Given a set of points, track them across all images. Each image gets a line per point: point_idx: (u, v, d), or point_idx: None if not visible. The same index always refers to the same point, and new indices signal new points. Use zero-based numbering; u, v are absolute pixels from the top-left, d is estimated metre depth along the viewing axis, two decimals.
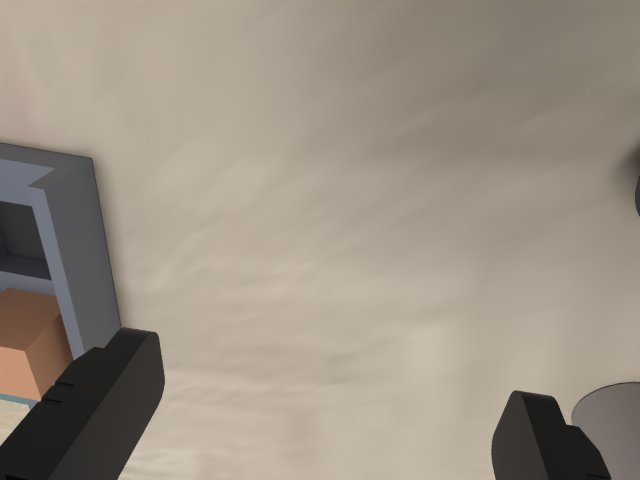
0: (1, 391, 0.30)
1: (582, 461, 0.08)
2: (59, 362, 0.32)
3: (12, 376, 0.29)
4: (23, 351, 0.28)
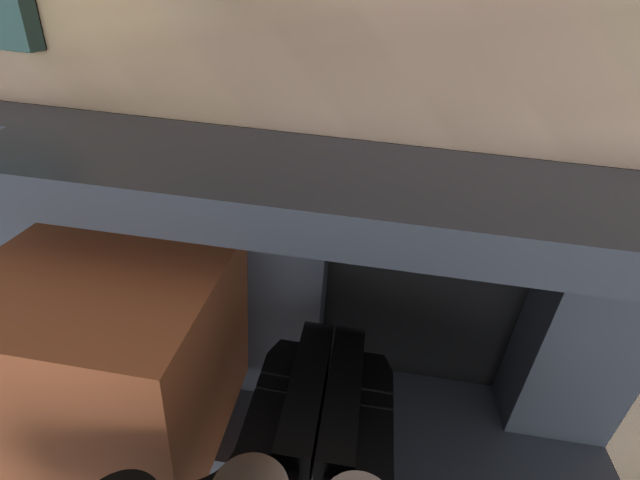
0: None
1: (373, 379, 0.09)
2: None
3: (41, 474, 0.09)
4: None
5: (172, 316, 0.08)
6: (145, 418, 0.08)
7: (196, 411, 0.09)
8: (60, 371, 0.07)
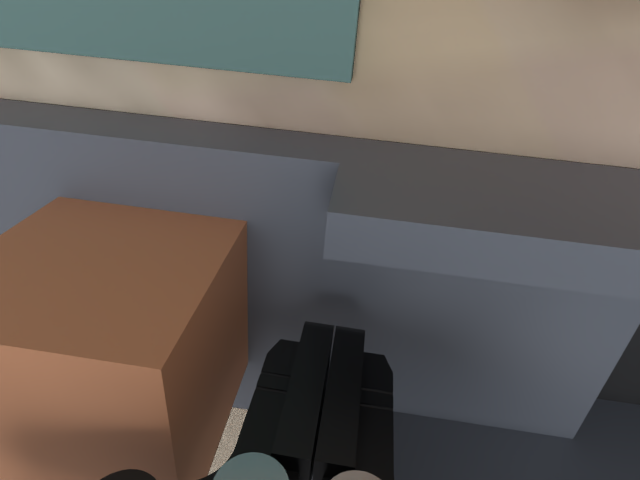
0: None
1: (373, 379, 0.09)
2: None
3: (39, 467, 0.09)
4: None
5: (173, 306, 0.08)
6: (146, 409, 0.07)
7: (197, 403, 0.09)
8: (58, 361, 0.07)
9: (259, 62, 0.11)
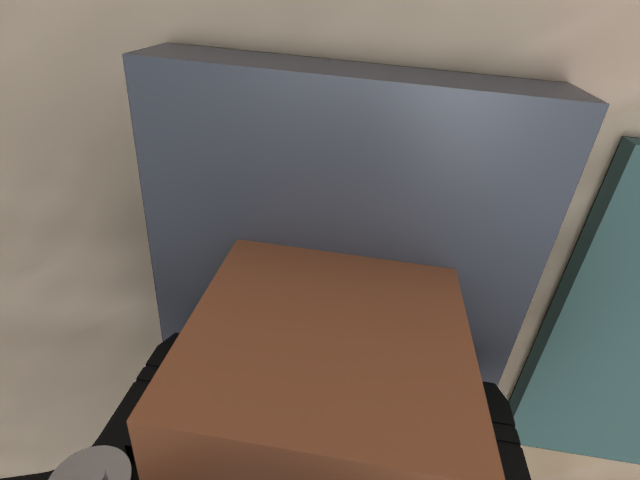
0: (340, 468, 0.06)
1: (491, 411, 0.09)
2: None
3: None
4: None
5: None
6: None
7: None
8: None
9: (532, 397, 0.13)
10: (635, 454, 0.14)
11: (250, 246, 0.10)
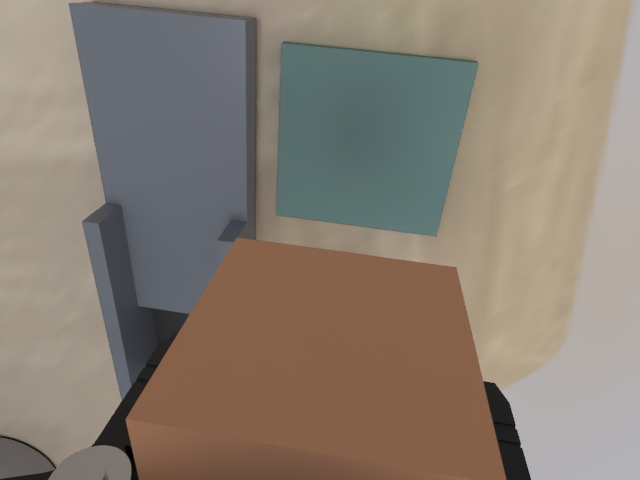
0: (340, 466, 0.06)
1: (491, 411, 0.09)
2: None
3: None
4: None
5: None
6: None
7: None
8: None
9: (281, 183, 0.27)
10: (339, 217, 0.27)
11: (250, 244, 0.10)
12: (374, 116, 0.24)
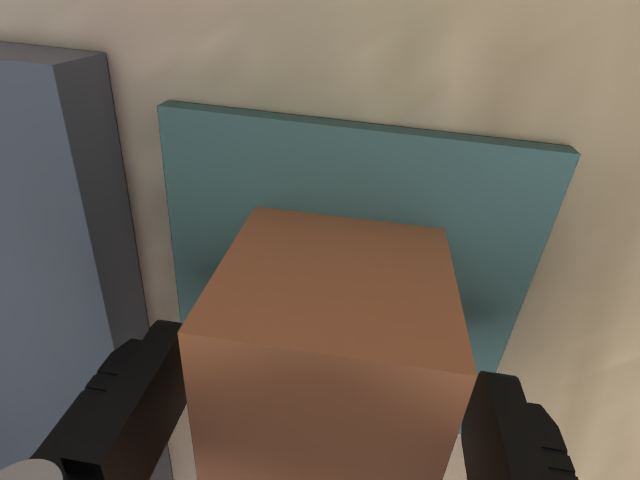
0: (346, 366, 0.07)
1: (541, 436, 0.09)
2: None
3: (270, 428, 0.08)
4: None
5: None
6: None
7: None
8: None
9: None
10: None
11: (266, 211, 0.12)
12: None
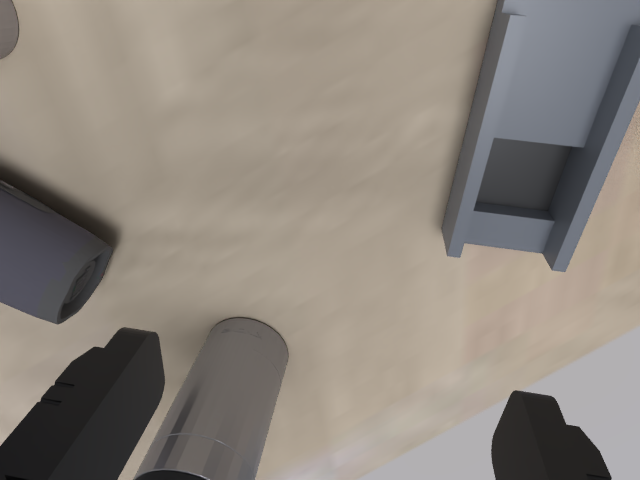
0: None
1: (582, 461, 0.08)
2: None
3: None
4: None
5: None
6: None
7: None
8: None
9: None
10: None
11: None
12: None
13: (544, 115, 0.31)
